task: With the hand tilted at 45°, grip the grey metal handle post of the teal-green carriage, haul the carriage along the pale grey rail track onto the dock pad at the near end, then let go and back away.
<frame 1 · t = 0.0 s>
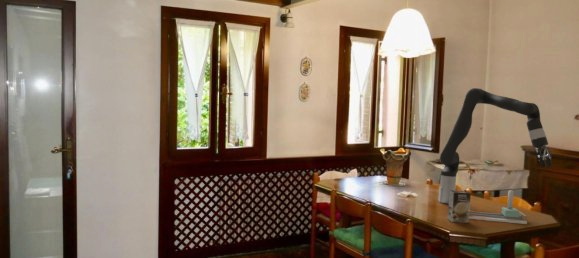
hand: (547, 166, 239), 31 cm above the table, tool tilted 20°, fingers open, 8 cm apart
decorative vase: (393, 183, 340), on the table
rail track: (494, 218, 248), on the table
carriage: (510, 203, 246), point 9 cm above the table, slide at 8.0 cm
coffee box: (457, 221, 239), on the table
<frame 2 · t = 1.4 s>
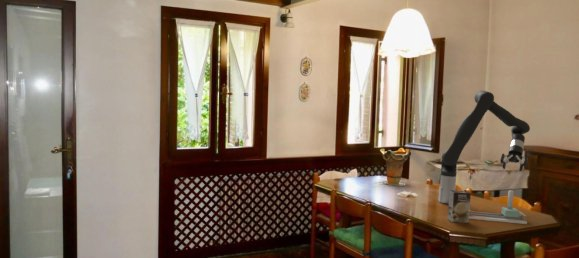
hand: (512, 169, 261), 26 cm above the table, tool tilted 45°, fingers open, 8 cm apart
nothing on the table moved.
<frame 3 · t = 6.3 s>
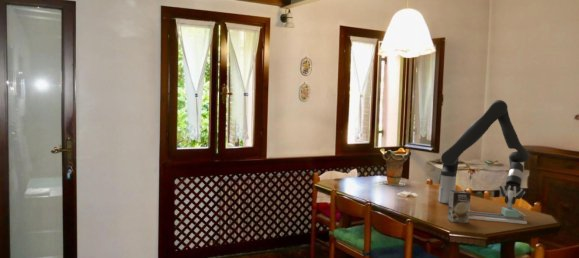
hand: (509, 203, 246), 9 cm above the table, tool tilted 45°, fingers closed on carriage, 2 cm apart
carriage: (510, 203, 246), point 9 cm above the table, slide at 8.0 cm, touching gripper
everything else where it was.
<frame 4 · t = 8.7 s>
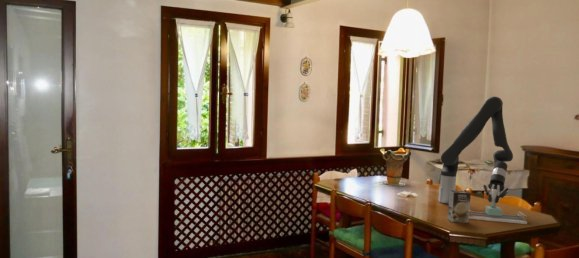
hand: (492, 201, 248), 9 cm above the table, tool tilted 45°, fingers closed on carriage, 2 cm apart
carriage: (494, 202, 248), point 9 cm above the table, slide at -0.7 cm, touching gripper
everything else where it was.
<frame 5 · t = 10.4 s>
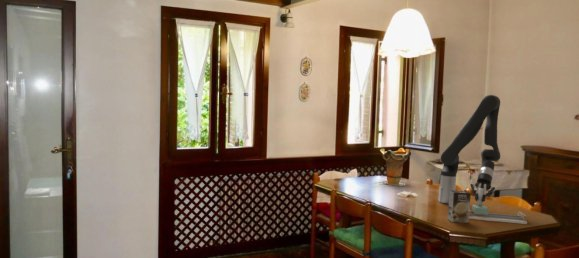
hand: (479, 200, 249), 9 cm above the table, tool tilted 45°, fingers closed on carriage, 2 cm apart
carriage: (480, 201, 249), point 9 cm above the table, slide at -7.8 cm, touching gripper
everything else where it was.
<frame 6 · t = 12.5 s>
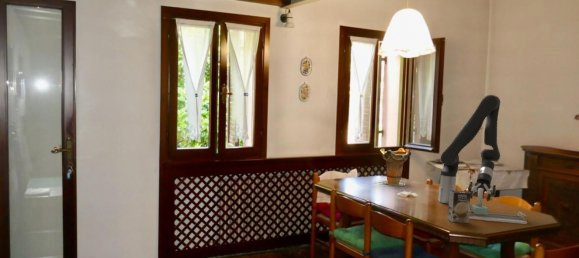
hand: (479, 199, 249), 10 cm above the table, tool tilted 45°, fingers open, 8 cm apart
carriage: (480, 200, 249), point 9 cm above the table, slide at -8.0 cm
everything else where it was.
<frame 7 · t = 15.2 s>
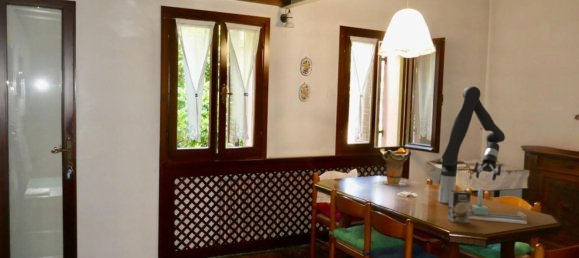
hand: (485, 178, 259), 20 cm above the table, tool tilted 45°, fingers open, 8 cm apart
nothing on the table moved.
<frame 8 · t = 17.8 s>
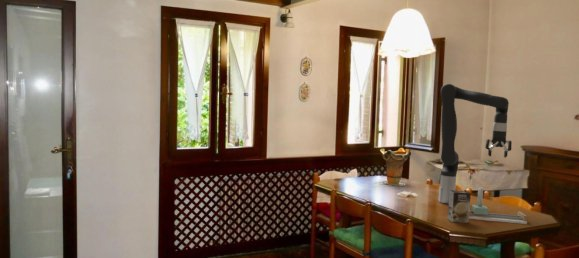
hand: (497, 156, 270), 32 cm above the table, tool pointing down, fingers open, 8 cm apart
nothing on the table moved.
at the end: carriage slide at -8.0 cm; the gripper is holding nothing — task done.
